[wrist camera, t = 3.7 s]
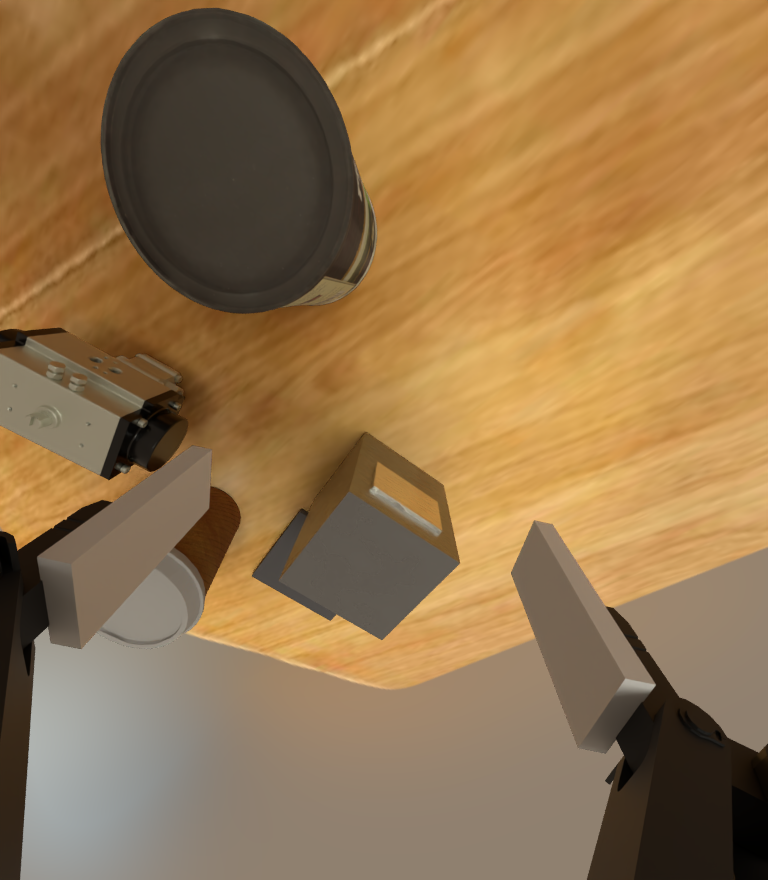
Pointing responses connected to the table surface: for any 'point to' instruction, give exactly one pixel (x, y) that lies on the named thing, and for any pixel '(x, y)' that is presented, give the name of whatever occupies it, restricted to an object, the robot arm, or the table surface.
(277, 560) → the pad
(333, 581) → the block
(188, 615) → the disposable coffee cup
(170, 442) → the pneumatic valve
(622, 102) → the table surface
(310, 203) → the coffee can
